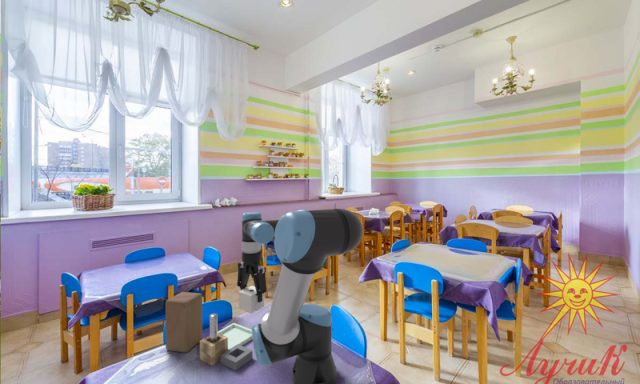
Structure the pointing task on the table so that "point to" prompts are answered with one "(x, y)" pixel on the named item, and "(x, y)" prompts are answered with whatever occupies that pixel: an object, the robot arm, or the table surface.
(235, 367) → the pin stand
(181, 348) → the wooden block
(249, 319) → the table surface
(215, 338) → the steel pin
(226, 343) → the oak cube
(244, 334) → the mint tray
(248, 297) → the white cube
